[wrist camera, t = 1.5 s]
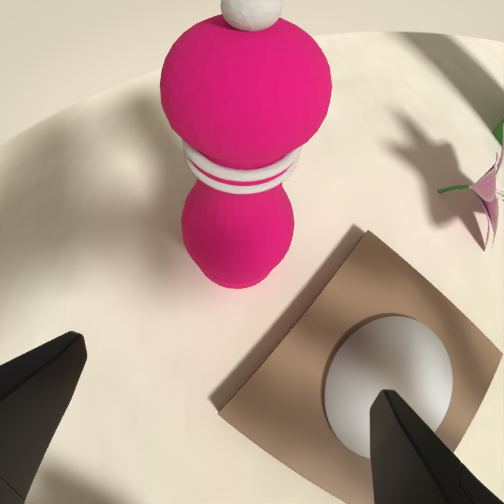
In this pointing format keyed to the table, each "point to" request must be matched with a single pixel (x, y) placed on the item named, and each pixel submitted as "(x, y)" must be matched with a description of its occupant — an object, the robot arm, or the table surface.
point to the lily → (487, 193)
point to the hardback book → (499, 133)
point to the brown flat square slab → (363, 371)
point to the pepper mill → (243, 132)
